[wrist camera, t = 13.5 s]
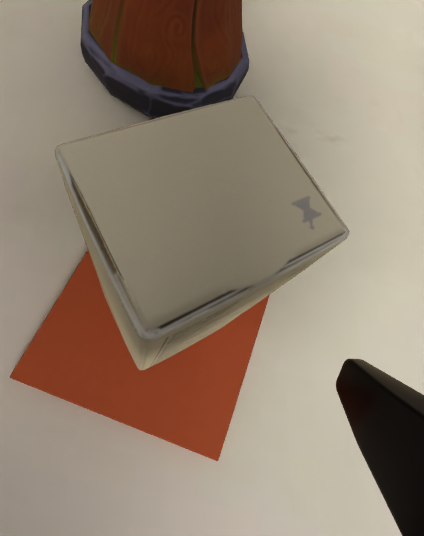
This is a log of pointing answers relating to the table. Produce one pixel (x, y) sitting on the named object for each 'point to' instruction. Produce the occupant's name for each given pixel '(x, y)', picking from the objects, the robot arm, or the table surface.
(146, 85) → the mug
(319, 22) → the table surface
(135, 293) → the box
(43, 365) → the mat
